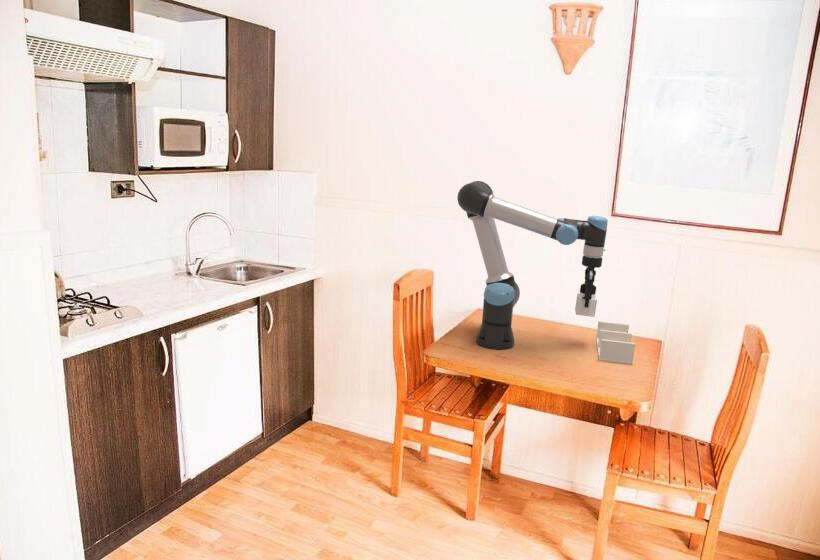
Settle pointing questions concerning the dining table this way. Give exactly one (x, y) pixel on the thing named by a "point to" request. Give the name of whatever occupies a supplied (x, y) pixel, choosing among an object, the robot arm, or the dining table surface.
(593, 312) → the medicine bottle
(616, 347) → the rack
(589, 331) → the dining table surface
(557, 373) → the dining table surface
